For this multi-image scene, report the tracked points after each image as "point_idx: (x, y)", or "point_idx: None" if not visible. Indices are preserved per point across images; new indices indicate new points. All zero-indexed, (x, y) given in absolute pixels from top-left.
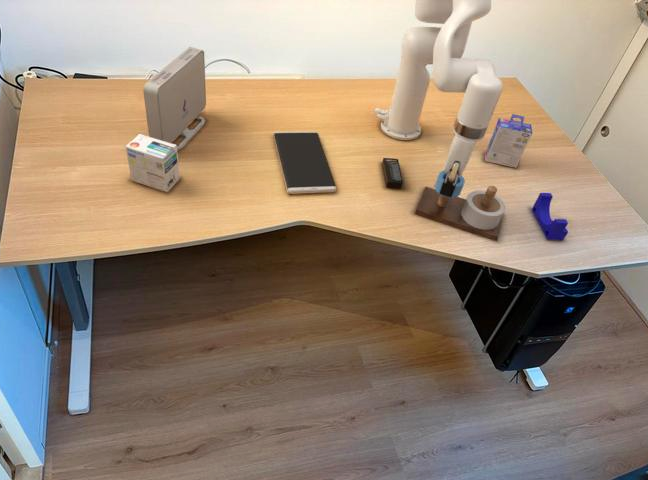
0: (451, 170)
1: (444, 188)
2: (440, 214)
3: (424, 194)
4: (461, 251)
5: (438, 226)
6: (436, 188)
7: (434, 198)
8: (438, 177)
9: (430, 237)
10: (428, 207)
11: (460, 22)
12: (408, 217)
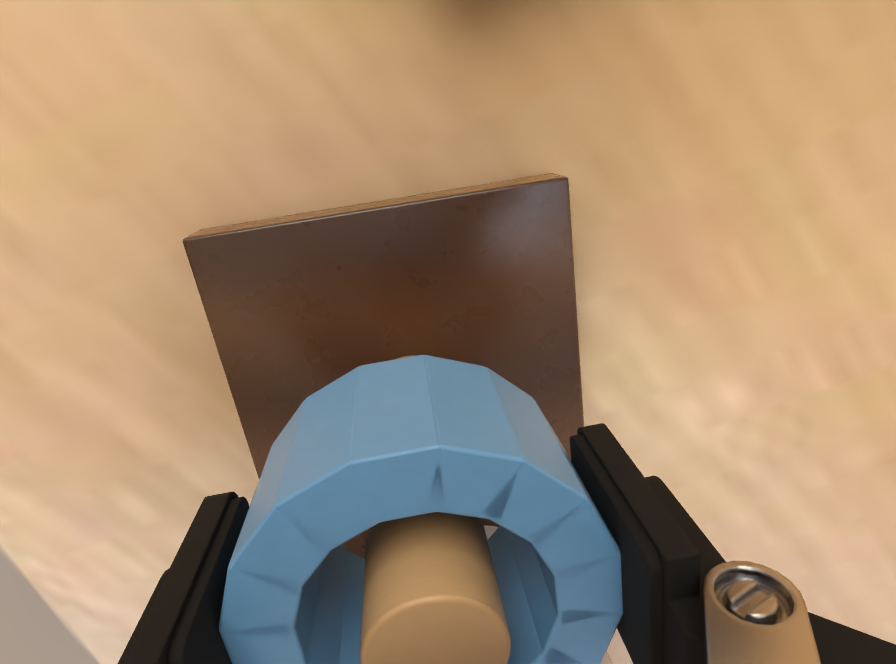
0: (621, 553)
1: (136, 629)
2: (283, 428)
3: (442, 218)
4: (97, 627)
5: (206, 435)
6: (294, 421)
7: (445, 314)
8: (314, 478)
9: (43, 438)
10: (291, 319)
11: None
12: (110, 203)
